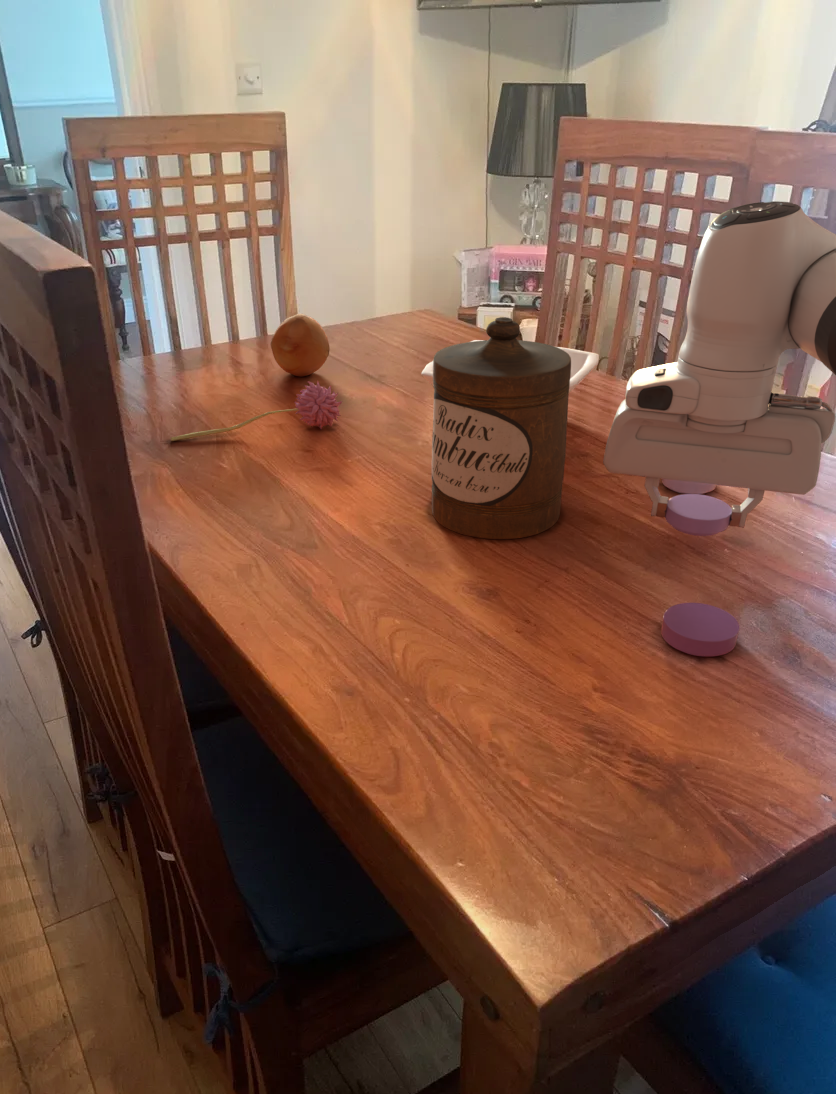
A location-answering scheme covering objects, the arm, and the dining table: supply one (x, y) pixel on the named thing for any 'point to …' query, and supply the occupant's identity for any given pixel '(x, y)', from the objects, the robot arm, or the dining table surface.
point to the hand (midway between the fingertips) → (696, 519)
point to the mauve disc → (700, 629)
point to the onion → (300, 345)
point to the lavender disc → (698, 514)
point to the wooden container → (499, 434)
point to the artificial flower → (311, 406)
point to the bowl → (579, 366)
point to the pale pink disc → (688, 486)
